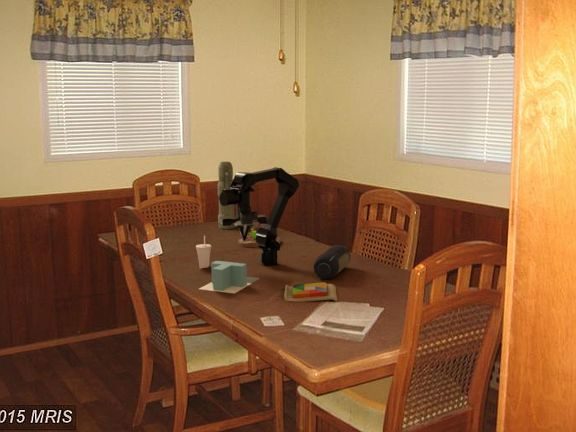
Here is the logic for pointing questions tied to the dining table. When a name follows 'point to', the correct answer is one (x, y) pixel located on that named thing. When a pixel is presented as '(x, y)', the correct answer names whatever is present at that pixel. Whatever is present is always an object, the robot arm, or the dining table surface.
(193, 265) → the dining table surface
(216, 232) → the dining table surface
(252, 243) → the plant
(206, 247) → the smoothie
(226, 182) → the thermos
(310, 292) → the wooden puzzle
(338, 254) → the portable speaker
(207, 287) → the mat
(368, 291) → the dining table surface
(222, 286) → the t block
